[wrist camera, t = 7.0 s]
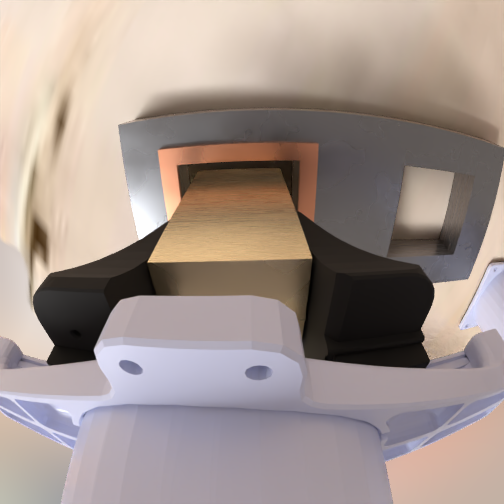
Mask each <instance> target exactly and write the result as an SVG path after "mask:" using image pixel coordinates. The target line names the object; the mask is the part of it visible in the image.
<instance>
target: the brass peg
mask: <svg viewBox="0 0 504 504" xmlns="http://www.w3.org/2000/svg"><path fill="white" fill-rule="evenodd" d="M147 263H148V267H149V271H150V274H151V278H152V282H153V285H154V289H155V292H156V295H157V296H241V295H252V296H258V297H264V298H270V299H276V300H279V301H280V302H282V303H283V304H284V305H286V306H287V307H288V308H290V309H291V310H293V311H294V312H295V313H296V316H297V319H298V323H299V327H300V331H301V337H302V335H303V329H304V322H305V315H306V308H307V300H308V292H309V284H310V276H311V267H312V256H311V253H310V250H309V247H308V244H307V241H306V238H305V235H304V232H303V229H302V227H301V224H300V221H299V218H298V215H297V213H296V210H295V207H294V204H293V202H292V199H291V196H290V194H289V191H288V188H287V186H286V183H285V180H284V178H283V175H282V172H281V170H280V168H251V169H224V170H206V171H198V172H197V174H196V176H195V177H194V179H193V181H192V182H191V184H190V186H189V187H188V189H187V191H186V192H185V194H184V196H183V198H182V199H181V201H180V203H179V205H178V206H177V208H176V210H175V212H174V213H173V215H172V217H171V219H170V221H169V222H168V224H167V226H166V228H165V230H164V232H163V233H162V235H161V237H160V239H159V241H158V243H157V245H156V247H155V249H154V251H153V252H152V254H151V256H150V258H149V260H148V262H147Z"/></svg>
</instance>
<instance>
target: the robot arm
mask: <svg viewBox="0 0 504 504" xmlns="http://www.w3.org/2000/svg"><path fill="white" fill-rule="evenodd" d="M296 213H297V215H298V218H299V221H300V224H301V227H302V229H303V232H304V235H305V238H306V241H307V244H308V247H309V250H310V253H311V256H312V267H311V276H310V284H309V292H308V300H307V308H306V315H305V322H304V329H303V335H302V337H301V331H300V327H299V323H298V319H297V316H296V313H295V312H294V311H293V310H291V309H290V308H288V307H287V306H286V305H284V304H283V303H282V302H280V301H279V300H276V299H270V298H264V297H258V296H252V295H241V296H157V295H156V292H155V289H154V285H153V282H152V278H151V274H150V271H149V267H148V263H147V262H148V260H149V258H150V256H151V254H152V252H153V251H154V249H155V247H156V245H157V243H158V241H159V239H160V237H161V235H162V233H163V232H164V230H165V228H166V226H167V224H168V222H169V221H170V220H168V221H167V222H166V223H164V224H163V225H161V226H160V227H158V228H157V229H155V230H154V231H152V232H151V233H149V234H148V235H146V236H145V237H143V238H141V239H140V240H138V241H137V242H135V243H133V244H132V245H130V246H128V247H126V248H124V249H122V250H120V251H118V252H116V253H114V254H111V255H109V256H107V257H104V258H102V259H100V260H97V261H94V262H91V263H88V264H85V265H82V266H79V267H75V268H72V269H67V270H63V271H59V272H54V273H50V274H49V275H48V276H47V278H46V279H45V280H44V282H43V283H42V284H41V285H40V287H39V288H38V289H37V291H36V292H35V294H34V296H33V306H34V310H35V313H36V315H37V317H38V319H39V321H40V323H41V324H42V326H43V328H44V329H45V331H46V333H47V334H48V336H49V337H50V339H51V340H52V341H53V343H54V345H55V346H54V348H53V350H52V352H51V354H50V356H49V358H48V360H47V361H44V360H40V359H37V358H33V357H30V356H26V355H23V353H22V351H21V350H20V348H19V347H18V346H17V345H16V343H15V342H13V341H12V340H10V339H8V338H5V337H1V336H0V411H1V412H2V413H3V414H4V415H5V416H7V417H8V418H10V419H12V420H14V421H16V422H18V423H20V424H22V425H23V426H25V427H28V428H29V429H31V430H33V431H35V432H37V433H39V434H41V435H43V436H45V437H47V438H49V439H51V440H53V441H55V442H57V443H60V444H62V445H64V446H66V447H69V448H71V449H73V453H72V457H71V461H70V465H69V469H68V473H67V477H66V482H65V486H64V491H63V496H62V501H61V504H393V500H392V494H391V489H390V484H389V479H388V475H387V469H386V464H385V462H386V461H389V460H392V459H394V458H397V457H400V456H402V455H405V454H408V453H411V452H413V451H415V450H418V449H420V448H422V447H425V446H427V445H429V444H431V443H434V442H436V441H438V440H440V439H443V438H444V437H447V436H449V435H451V434H453V433H455V432H457V431H459V430H461V429H463V428H465V427H467V426H469V425H471V424H473V423H474V422H476V421H478V420H480V419H482V418H484V417H486V416H487V415H488V414H490V413H491V412H492V411H493V410H494V409H495V408H496V407H497V406H498V405H499V404H500V403H501V402H502V401H503V400H504V262H496V263H491V264H489V266H488V267H487V270H486V272H485V274H484V277H483V279H482V281H481V283H480V286H479V288H478V290H477V292H476V294H475V296H474V298H473V300H472V302H471V304H470V306H469V308H468V310H467V312H466V314H465V316H464V317H463V319H462V321H461V323H460V325H459V328H460V330H463V329H467V328H471V327H475V326H479V328H480V329H481V331H482V332H481V333H478V334H476V335H475V336H474V337H472V338H471V340H470V341H469V342H468V344H467V345H466V347H465V349H464V351H461V352H458V353H454V354H451V355H447V356H444V357H440V358H436V359H432V360H430V359H429V357H428V355H427V353H426V351H425V349H424V347H423V345H422V343H421V342H423V341H424V339H425V338H424V335H423V333H422V331H421V327H422V325H423V323H424V321H425V319H426V317H427V315H428V313H429V311H430V308H431V306H432V303H433V300H434V287H433V284H432V281H431V280H430V279H429V277H428V276H427V275H426V273H425V272H424V271H423V269H422V268H421V267H420V265H417V264H412V263H407V262H401V261H396V260H392V259H389V258H385V257H381V256H378V255H375V254H372V253H369V252H367V251H364V250H361V249H359V248H357V247H354V246H352V245H350V244H348V243H346V242H344V241H342V240H340V239H338V238H337V237H335V236H333V235H332V234H330V233H329V232H327V231H326V230H324V229H323V228H321V227H320V226H318V225H317V224H316V223H314V222H313V221H312V220H310V219H309V218H308V217H306V216H305V215H304V214H302V213H301V212H299V211H296Z"/></svg>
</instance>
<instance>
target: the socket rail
mask: <svg viewBox="0 0 504 504" xmlns="http://www.w3.org/2000/svg"><path fill="white" fill-rule="evenodd" d="M118 126H119V134H120V142H121V149H122V156H123V162H124V168H125V174H126V180H127V185H128V191H129V196H130V201H131V206H132V211H133V215H134V220H135V224H136V229H137V233H138V237H139V240H140V239H141V238H143V237H145V236H146V235H148V234H149V233H151V232H152V231H154V230H155V229H157V228H158V227H160V226H161V225H163V224H164V223H166V222H167V221H168V220H170V219H171V217H172V215H173V213H174V212H175V210H176V208H177V206H178V205H179V203H180V201H181V199H182V198H183V196H184V194H185V192H186V191H187V189H188V187H189V186H190V180H189V170H188V164H197V163H212V162H232V161H268V160H293V166H292V202H293V204H294V207H295V210H296V211H299V212H301V213H302V214H304V215H305V216H306V217H308V218H309V219H310V220H312V221H313V222H314V223H316V224H317V225H318V226H320V227H321V228H323V229H324V230H326V231H327V232H329V233H330V234H332V235H333V236H335V237H337V238H338V239H340V240H342V241H344V242H346V243H348V244H350V245H352V246H354V247H357V248H359V249H361V250H364V251H367V252H369V253H372V254H375V255H378V256H381V257H385V258H389V259H392V260H396V261H401V262H407V263H412V264H417V265H420V267H421V268H422V269H423V271H424V272H425V273H426V275H427V276H428V277H429V279H430V280H431V281H432V283H438V282H447V281H456V280H464V279H468V278H469V276H470V273H471V271H472V268H473V266H474V263H475V261H476V258H477V256H478V253H479V250H480V248H481V245H482V242H483V239H484V236H485V233H486V230H487V227H488V224H489V220H490V217H491V213H492V210H493V206H494V202H495V199H496V194H497V190H498V186H499V181H500V177H501V172H502V167H503V161H504V148H503V147H501V146H499V145H496V144H494V143H492V142H489V141H487V140H484V139H481V138H477V137H474V136H471V135H467V134H464V133H460V132H457V131H453V130H449V129H445V128H441V127H437V126H433V125H428V124H423V123H419V122H414V121H409V120H403V119H398V118H392V117H385V116H379V115H371V114H364V113H355V112H346V111H335V110H321V109H302V108H240V109H220V110H207V111H196V112H186V113H177V114H169V115H162V116H155V117H149V118H143V119H137V120H132V121H129V122H126V123H123V124H120V125H118ZM404 165H405V166H414V167H422V168H430V169H437V170H443V171H450V172H455V176H454V181H453V186H452V191H451V196H450V200H449V204H448V208H447V212H446V216H445V220H444V224H443V227H442V231H441V234H440V238H439V240H391V236H392V232H393V227H394V222H395V218H396V213H397V207H398V202H399V197H400V191H401V185H402V179H403V172H404Z"/></svg>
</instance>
